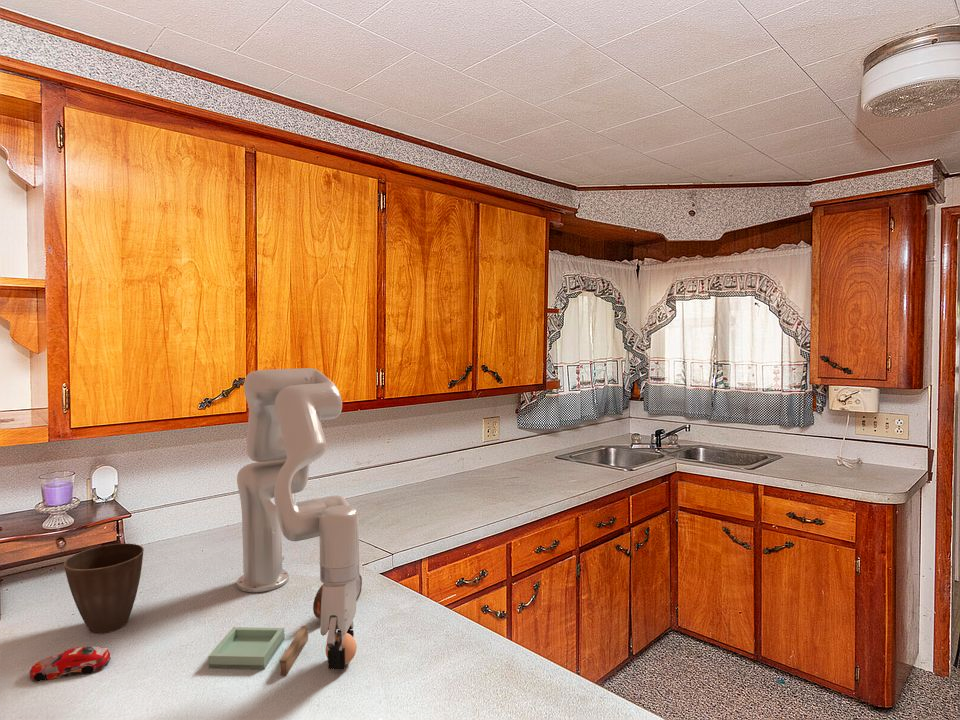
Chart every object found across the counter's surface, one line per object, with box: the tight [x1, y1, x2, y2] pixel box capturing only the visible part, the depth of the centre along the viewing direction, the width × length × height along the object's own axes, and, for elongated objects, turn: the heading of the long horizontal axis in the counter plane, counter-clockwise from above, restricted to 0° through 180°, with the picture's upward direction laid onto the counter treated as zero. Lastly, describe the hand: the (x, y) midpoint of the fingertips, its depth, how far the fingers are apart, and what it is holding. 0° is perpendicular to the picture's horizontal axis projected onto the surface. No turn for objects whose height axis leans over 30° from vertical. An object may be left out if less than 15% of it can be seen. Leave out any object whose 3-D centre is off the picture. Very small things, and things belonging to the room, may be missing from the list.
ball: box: [325, 633, 357, 665], centre depth 118 cm, size 6×6×6 cm
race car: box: [29, 646, 112, 683], centre depth 116 cm, size 13×5×4 cm, turn 106°
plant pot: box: [63, 543, 145, 635], centre depth 133 cm, size 15×15×16 cm
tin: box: [312, 573, 363, 620], centre depth 139 cm, size 15×3×8 cm, turn 154°
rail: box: [279, 625, 309, 677], centre depth 121 cm, size 13×1×3 cm, turn 178°
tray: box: [207, 626, 285, 670], centre depth 122 cm, size 11×11×2 cm
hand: (341, 658), depth 118 cm, fingers closed on ball, 6 cm apart
